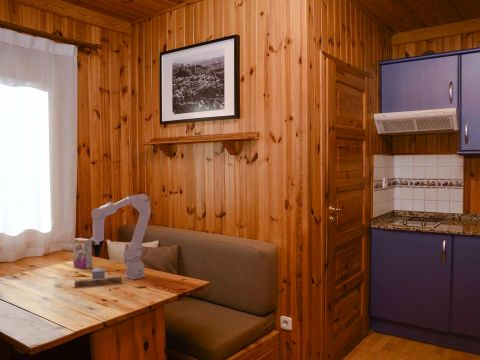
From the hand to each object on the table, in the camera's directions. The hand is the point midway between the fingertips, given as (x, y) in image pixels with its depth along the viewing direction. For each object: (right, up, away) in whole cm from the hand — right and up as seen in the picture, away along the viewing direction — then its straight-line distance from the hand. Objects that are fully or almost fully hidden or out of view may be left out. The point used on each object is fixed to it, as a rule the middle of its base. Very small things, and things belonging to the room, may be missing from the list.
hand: (97, 255), depth 230 cm
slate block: (+4, -11, -10) cm, 15 cm away
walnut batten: (+7, -11, -19) cm, 23 cm away
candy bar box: (-14, -10, +16) cm, 24 cm away
